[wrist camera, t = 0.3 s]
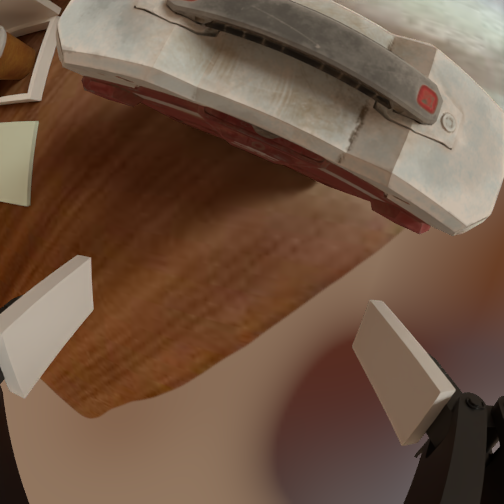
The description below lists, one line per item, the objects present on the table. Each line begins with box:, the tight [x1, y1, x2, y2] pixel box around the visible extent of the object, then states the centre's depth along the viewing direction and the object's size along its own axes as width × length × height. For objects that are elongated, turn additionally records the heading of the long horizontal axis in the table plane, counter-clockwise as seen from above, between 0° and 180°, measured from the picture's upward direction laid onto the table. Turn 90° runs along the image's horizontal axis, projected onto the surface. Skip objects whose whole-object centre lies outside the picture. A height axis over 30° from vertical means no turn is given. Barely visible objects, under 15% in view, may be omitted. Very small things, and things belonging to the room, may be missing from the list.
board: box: [0, 121, 39, 206], centre depth 35 cm, size 14×14×1 cm
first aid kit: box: [56, 0, 504, 236], centre depth 22 cm, size 23×8×30 cm, turn 66°
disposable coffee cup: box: [0, 25, 36, 80], centre depth 25 cm, size 10×10×12 cm
